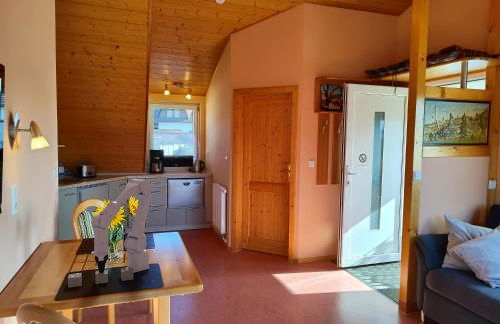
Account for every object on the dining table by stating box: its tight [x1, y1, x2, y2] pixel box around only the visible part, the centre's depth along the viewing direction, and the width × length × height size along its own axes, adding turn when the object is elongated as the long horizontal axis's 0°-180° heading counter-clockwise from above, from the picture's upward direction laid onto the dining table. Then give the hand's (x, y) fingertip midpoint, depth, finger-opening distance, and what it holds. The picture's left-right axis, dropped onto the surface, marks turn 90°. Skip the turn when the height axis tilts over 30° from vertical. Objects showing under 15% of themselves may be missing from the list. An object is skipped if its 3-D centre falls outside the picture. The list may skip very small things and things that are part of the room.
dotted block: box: [67, 272, 83, 289], centre depth 157 cm, size 5×5×4 cm
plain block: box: [95, 269, 109, 285], centre depth 161 cm, size 5×5×4 cm
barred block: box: [120, 267, 134, 282], centre depth 165 cm, size 5×5×4 cm
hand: (101, 271), depth 161 cm, fingers closed
